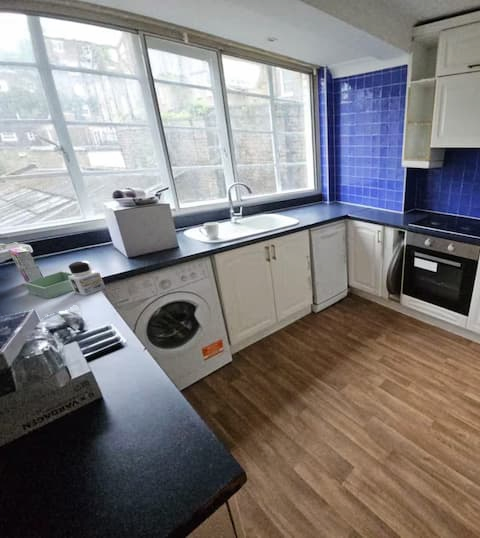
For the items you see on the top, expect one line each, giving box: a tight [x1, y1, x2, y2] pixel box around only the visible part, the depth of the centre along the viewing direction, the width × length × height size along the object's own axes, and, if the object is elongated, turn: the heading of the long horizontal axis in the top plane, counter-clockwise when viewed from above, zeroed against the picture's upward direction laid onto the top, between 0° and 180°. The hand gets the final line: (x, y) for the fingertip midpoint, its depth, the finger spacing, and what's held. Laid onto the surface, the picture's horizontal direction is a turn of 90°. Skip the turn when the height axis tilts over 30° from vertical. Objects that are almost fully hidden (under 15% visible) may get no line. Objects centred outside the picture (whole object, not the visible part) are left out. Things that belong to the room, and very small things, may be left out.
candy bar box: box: [8, 247, 44, 282], centre depth 132 cm, size 11×5×16 cm, turn 58°
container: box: [68, 260, 106, 296], centre depth 124 cm, size 8×8×13 cm
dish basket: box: [23, 270, 74, 300], centre depth 128 cm, size 13×16×5 cm
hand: (9, 256), depth 135 cm, fingers open, 8 cm apart
